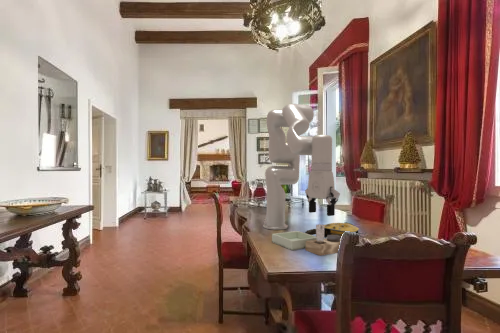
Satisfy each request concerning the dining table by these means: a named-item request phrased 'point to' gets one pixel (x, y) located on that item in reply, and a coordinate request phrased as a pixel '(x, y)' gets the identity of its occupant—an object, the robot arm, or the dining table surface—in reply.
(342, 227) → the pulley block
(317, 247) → the tan base block
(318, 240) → the lock pin
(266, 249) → the dining table surface
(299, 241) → the tray
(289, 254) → the dining table surface
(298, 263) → the dining table surface
